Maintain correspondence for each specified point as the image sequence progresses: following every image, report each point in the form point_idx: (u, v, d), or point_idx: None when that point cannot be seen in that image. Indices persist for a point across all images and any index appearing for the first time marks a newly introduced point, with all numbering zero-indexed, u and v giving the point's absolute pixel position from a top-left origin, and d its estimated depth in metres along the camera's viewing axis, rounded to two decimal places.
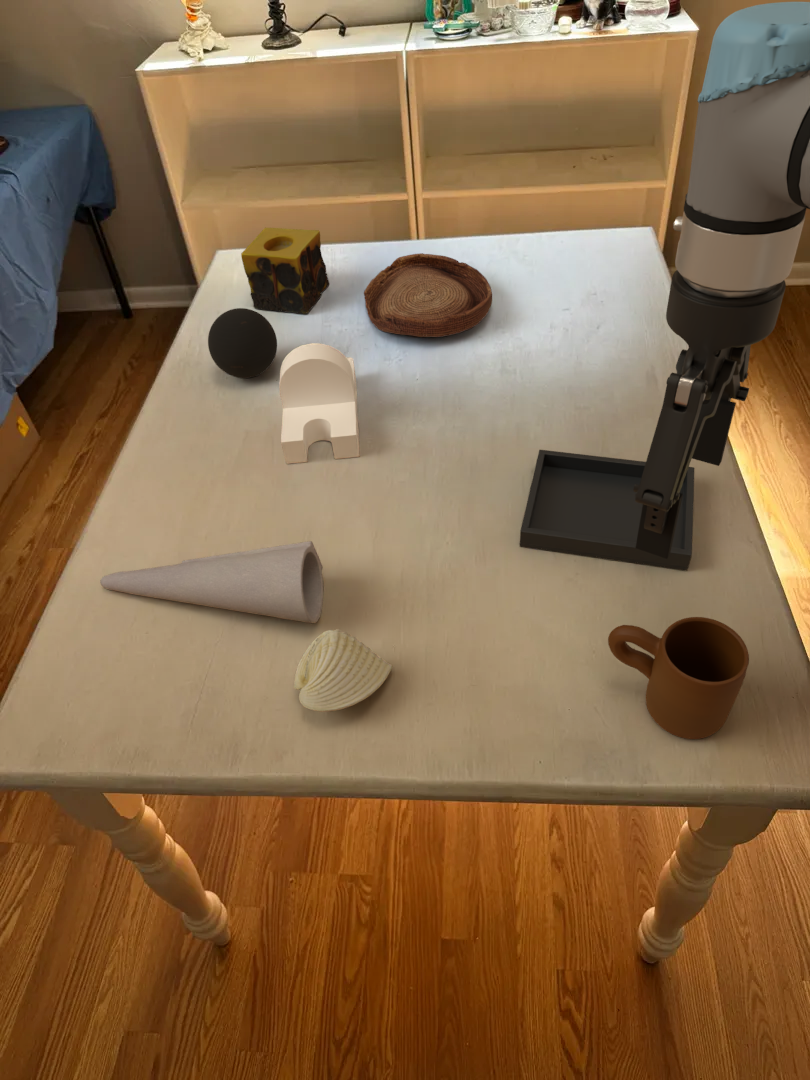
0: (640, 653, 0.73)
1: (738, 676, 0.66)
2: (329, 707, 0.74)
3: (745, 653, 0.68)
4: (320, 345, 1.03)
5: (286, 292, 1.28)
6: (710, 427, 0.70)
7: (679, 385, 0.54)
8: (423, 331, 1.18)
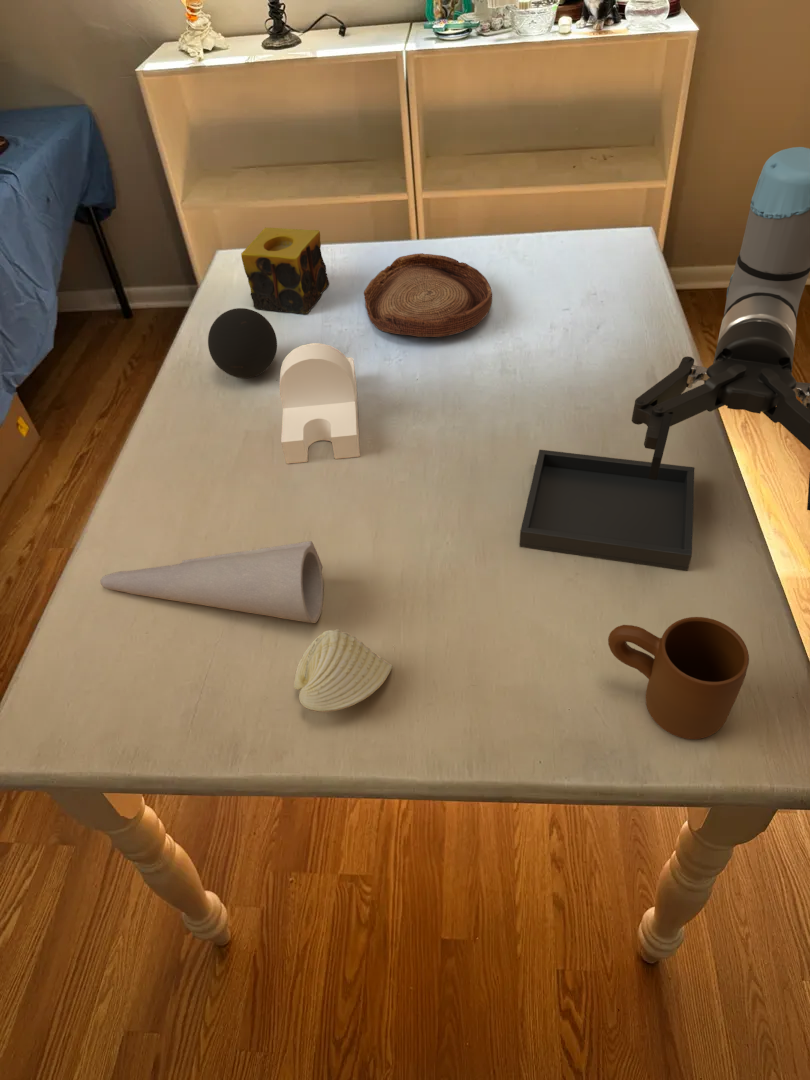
0: (640, 653, 0.73)
1: (738, 676, 0.66)
2: (329, 707, 0.74)
3: (745, 653, 0.68)
4: (320, 345, 1.03)
5: (286, 292, 1.28)
6: None
7: None
8: (423, 331, 1.18)
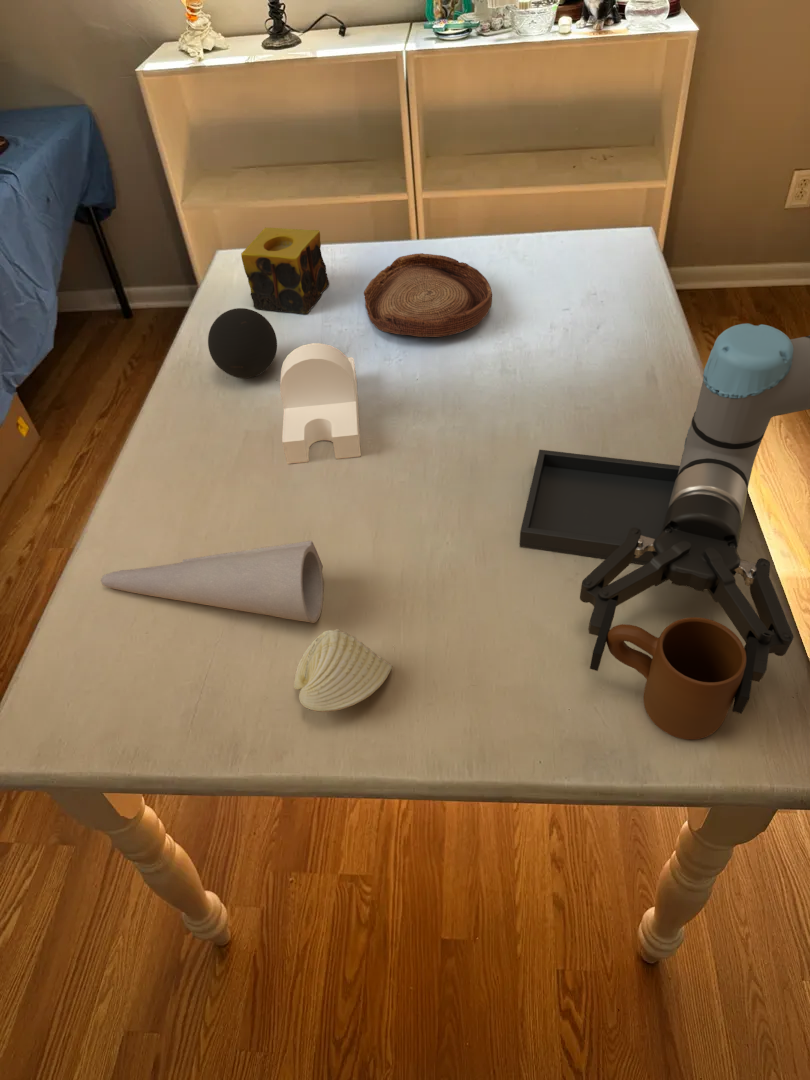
0: (638, 653, 0.73)
1: (735, 677, 0.66)
2: (329, 707, 0.74)
3: (743, 655, 0.68)
4: (321, 345, 1.03)
5: (286, 292, 1.28)
6: None
7: None
8: (423, 331, 1.18)
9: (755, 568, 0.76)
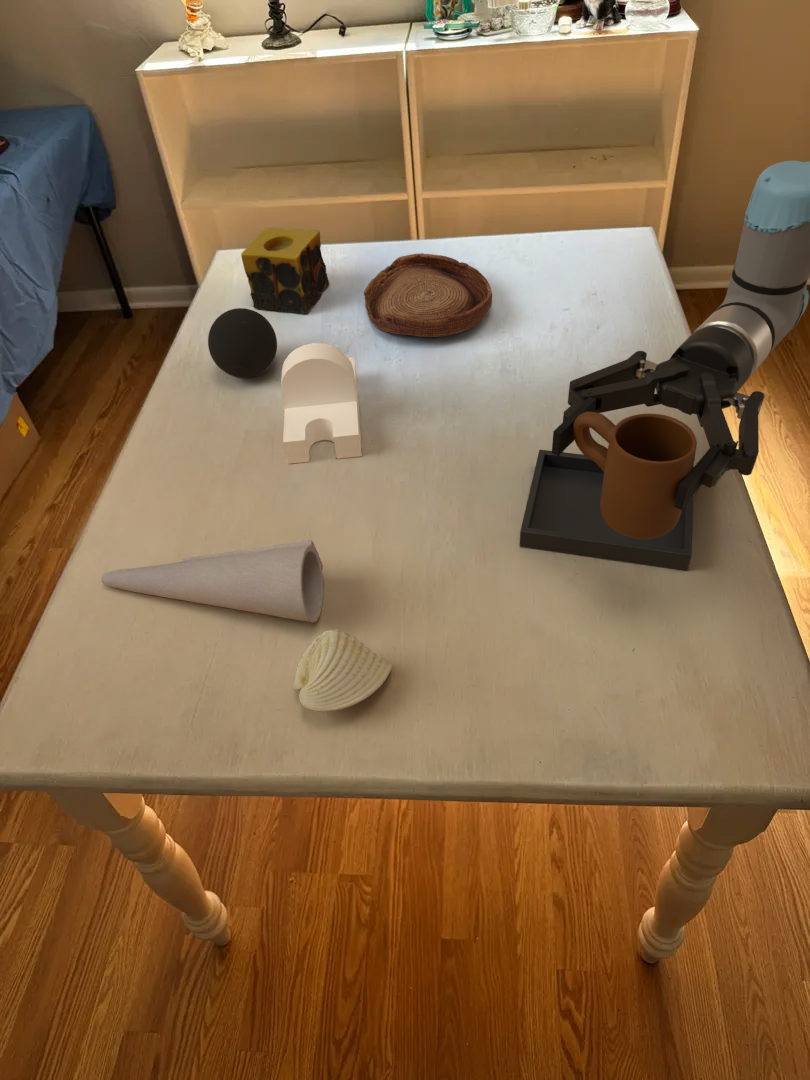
0: (601, 446, 0.75)
1: (675, 461, 0.67)
2: (329, 707, 0.74)
3: (692, 447, 0.68)
4: (322, 345, 1.03)
5: (286, 292, 1.27)
6: None
7: None
8: (423, 331, 1.18)
9: (747, 397, 0.76)
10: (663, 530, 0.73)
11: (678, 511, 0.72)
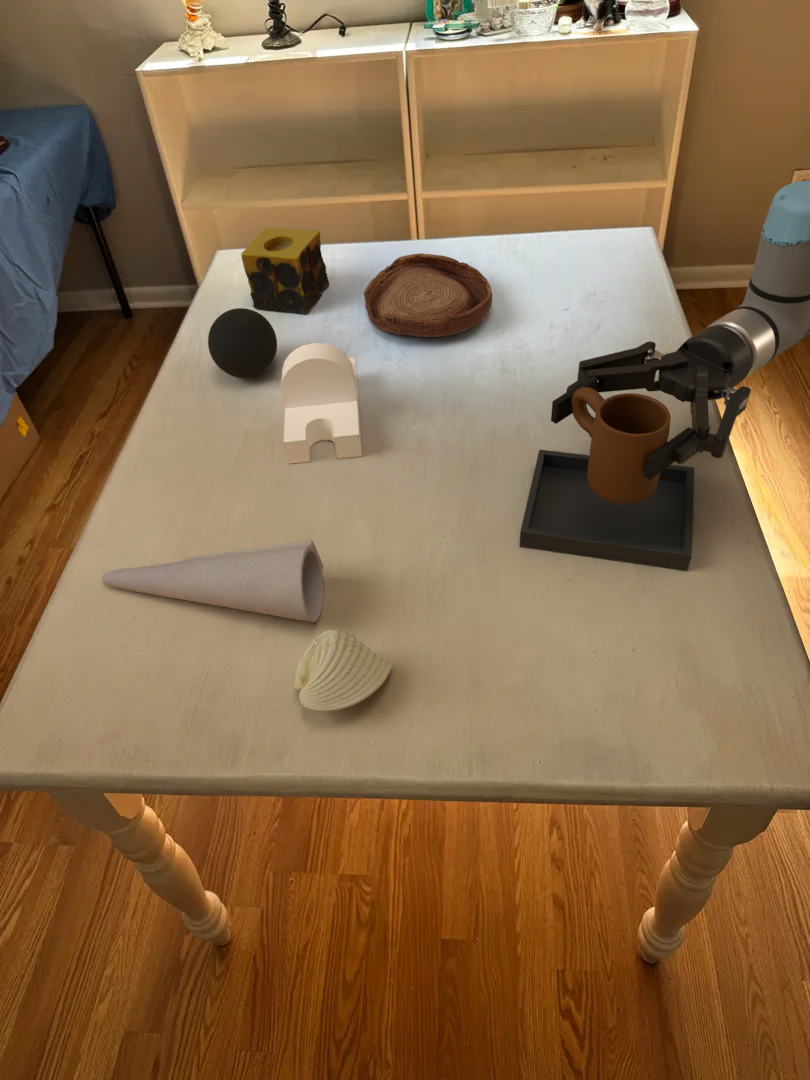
0: (594, 419, 0.85)
1: (645, 434, 0.77)
2: (329, 707, 0.74)
3: (664, 425, 0.78)
4: (322, 345, 1.03)
5: (286, 292, 1.27)
6: None
7: None
8: (423, 331, 1.18)
9: (734, 391, 0.84)
10: (636, 497, 0.83)
11: (651, 482, 0.82)
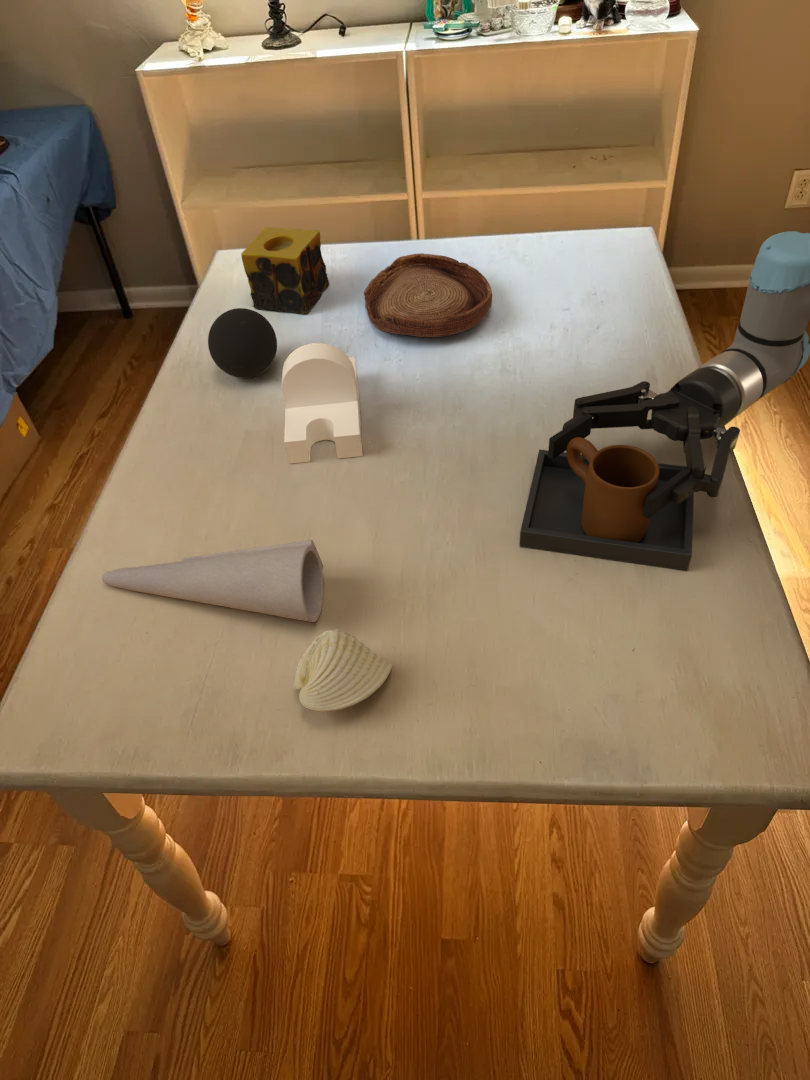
0: (588, 467, 0.90)
1: (634, 488, 0.82)
2: (329, 707, 0.74)
3: (653, 478, 0.83)
4: (322, 345, 1.03)
5: (286, 292, 1.27)
6: None
7: None
8: (423, 331, 1.18)
9: (724, 431, 0.88)
10: None
11: (641, 528, 0.87)
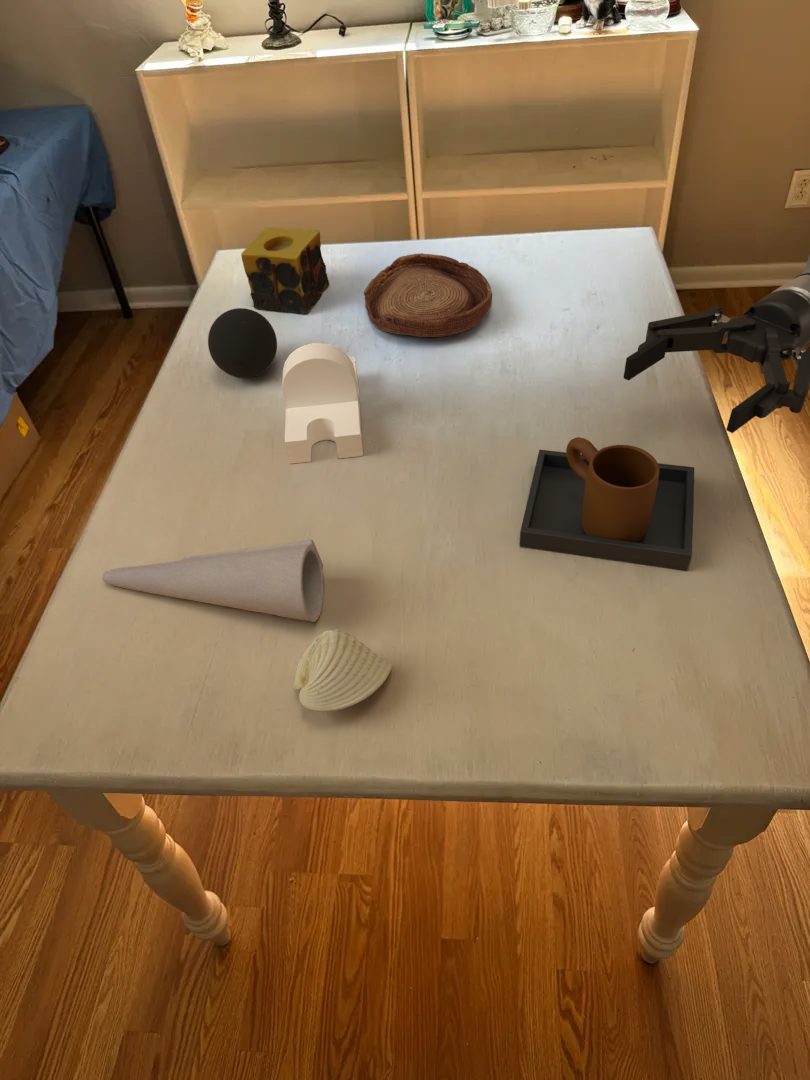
0: (588, 467, 0.90)
1: (634, 488, 0.82)
2: (329, 707, 0.74)
3: (653, 478, 0.83)
4: (323, 345, 1.03)
5: (286, 292, 1.27)
6: None
7: None
8: (423, 331, 1.18)
9: (804, 350, 0.87)
10: None
11: (641, 528, 0.87)
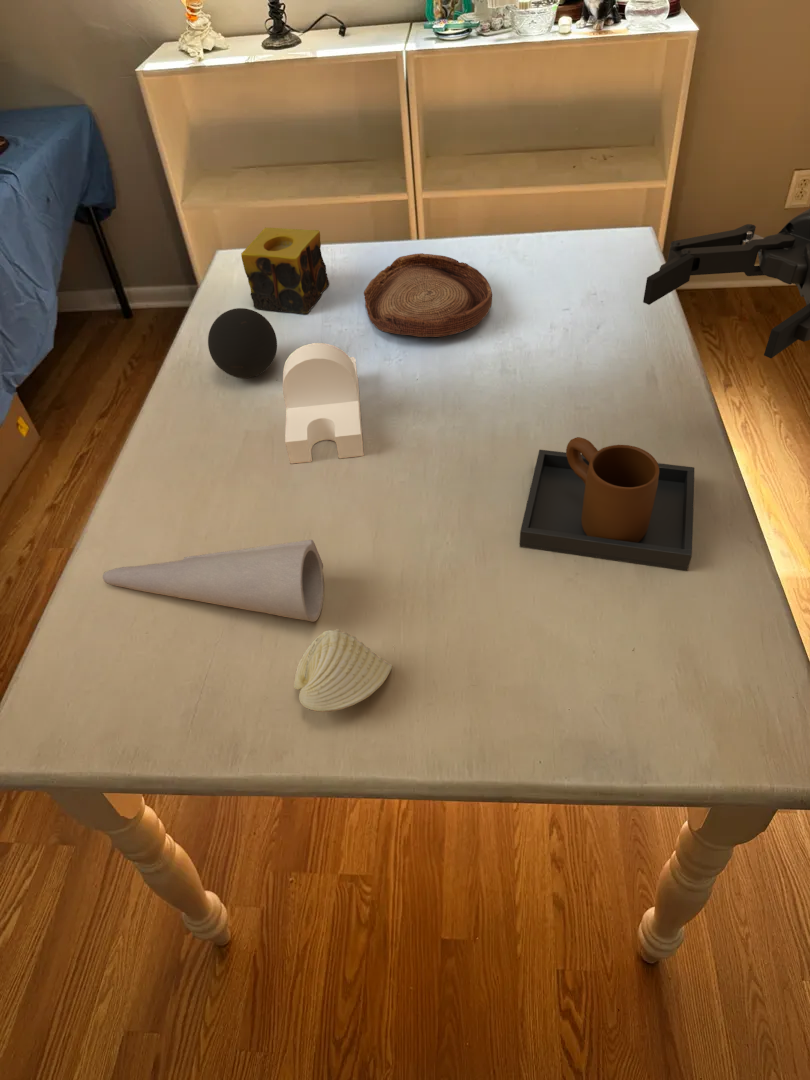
0: (588, 467, 0.90)
1: (634, 488, 0.82)
2: (329, 707, 0.74)
3: (653, 478, 0.83)
4: (323, 345, 1.03)
5: (286, 292, 1.27)
6: None
7: None
8: (423, 331, 1.18)
9: None
10: None
11: (641, 528, 0.87)
